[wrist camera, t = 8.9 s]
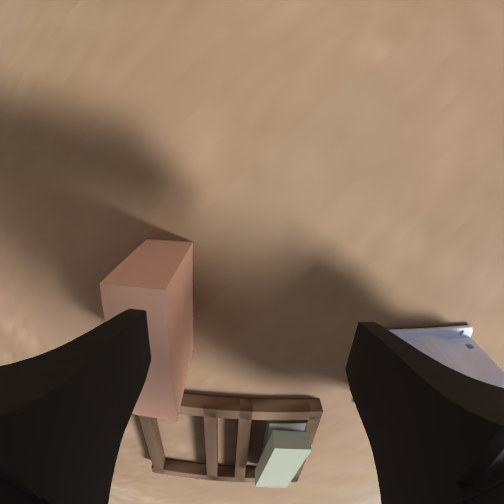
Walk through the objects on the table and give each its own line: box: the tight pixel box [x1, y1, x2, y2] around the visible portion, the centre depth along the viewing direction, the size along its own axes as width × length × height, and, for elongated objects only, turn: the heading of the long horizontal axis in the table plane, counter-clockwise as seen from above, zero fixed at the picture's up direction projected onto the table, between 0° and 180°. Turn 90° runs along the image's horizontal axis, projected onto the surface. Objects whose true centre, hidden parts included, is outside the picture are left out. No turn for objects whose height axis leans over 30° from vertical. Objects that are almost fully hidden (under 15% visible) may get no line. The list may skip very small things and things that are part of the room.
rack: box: [139, 393, 323, 482], centre depth 24 cm, size 15×12×2 cm
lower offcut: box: [260, 420, 307, 458], centre depth 24 cm, size 3×9×2 cm, turn 176°
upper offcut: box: [255, 430, 312, 487], centre depth 22 cm, size 3×7×2 cm, turn 168°
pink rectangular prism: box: [99, 239, 194, 421], centre depth 17 cm, size 3×8×7 cm, turn 176°
